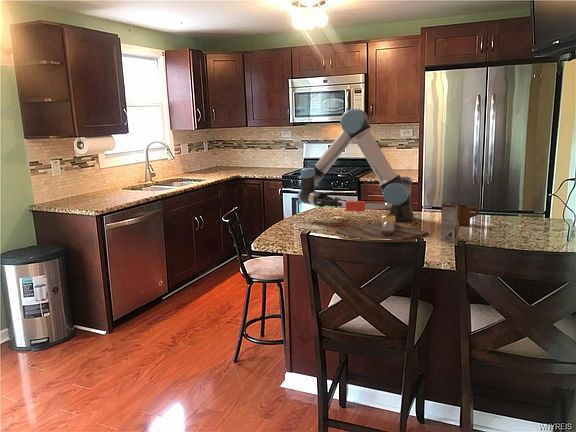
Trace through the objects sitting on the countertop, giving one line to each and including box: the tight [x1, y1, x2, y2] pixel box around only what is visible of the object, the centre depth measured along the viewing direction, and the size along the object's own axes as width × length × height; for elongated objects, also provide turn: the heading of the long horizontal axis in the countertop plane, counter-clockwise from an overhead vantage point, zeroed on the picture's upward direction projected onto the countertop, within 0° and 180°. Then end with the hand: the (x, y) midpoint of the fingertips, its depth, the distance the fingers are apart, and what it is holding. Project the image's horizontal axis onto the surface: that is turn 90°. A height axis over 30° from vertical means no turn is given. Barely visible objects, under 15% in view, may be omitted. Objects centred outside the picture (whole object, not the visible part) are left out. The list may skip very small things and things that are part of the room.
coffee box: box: [439, 201, 461, 243], centre depth 206 cm, size 9×6×16 cm
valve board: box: [335, 221, 430, 241], centre depth 219 cm, size 31×30×2 cm
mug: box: [459, 204, 480, 227], centre depth 232 cm, size 12×8×9 cm, turn 82°
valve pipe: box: [381, 209, 396, 236], centre depth 220 cm, size 23×6×10 cm, turn 167°
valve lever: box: [345, 200, 392, 212], centre depth 221 cm, size 22×3×4 cm, turn 77°
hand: (347, 205), depth 225 cm, fingers closed
